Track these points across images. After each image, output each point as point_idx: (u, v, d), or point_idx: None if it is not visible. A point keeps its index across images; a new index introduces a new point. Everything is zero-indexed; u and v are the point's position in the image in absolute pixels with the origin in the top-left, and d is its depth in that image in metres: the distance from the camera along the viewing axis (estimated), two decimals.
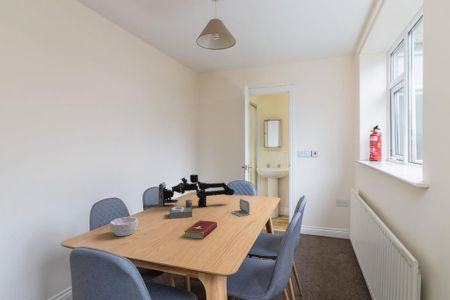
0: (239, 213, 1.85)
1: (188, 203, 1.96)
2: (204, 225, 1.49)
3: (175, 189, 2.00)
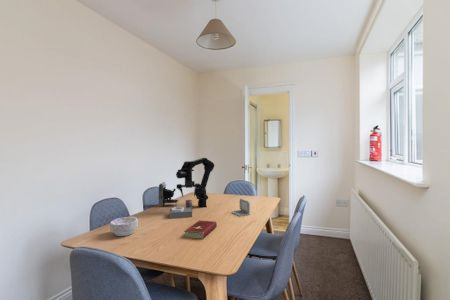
0: (239, 213, 1.85)
1: (188, 203, 1.96)
2: (204, 225, 1.49)
3: (195, 192, 1.99)
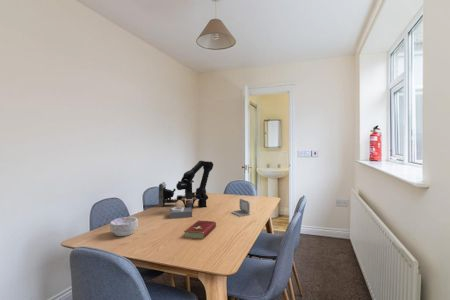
0: (239, 213, 1.85)
1: (188, 203, 1.96)
2: (204, 225, 1.49)
3: (193, 203, 1.99)
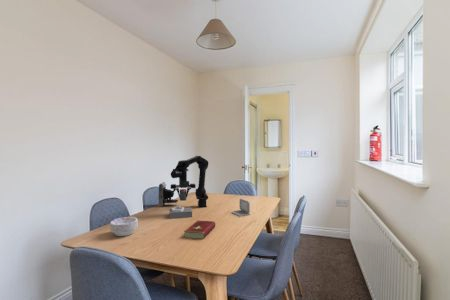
0: (239, 213, 1.85)
1: (182, 192, 1.89)
2: (203, 225, 1.49)
3: None
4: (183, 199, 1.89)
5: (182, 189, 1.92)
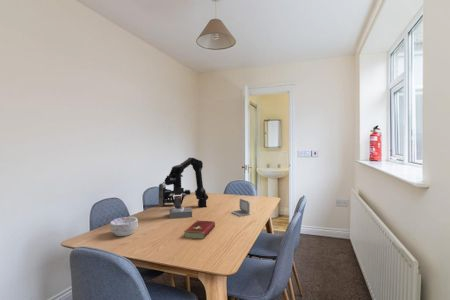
0: (239, 213, 1.85)
1: (177, 199, 1.82)
2: (203, 225, 1.49)
3: (182, 200, 1.84)
4: (178, 206, 1.82)
5: (177, 196, 1.84)
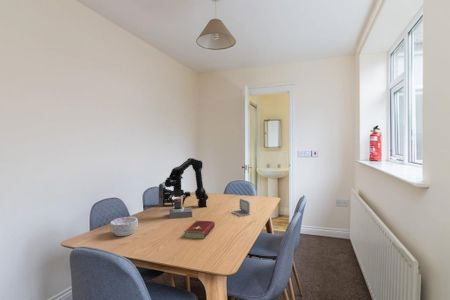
0: (239, 213, 1.85)
1: (177, 202, 1.82)
2: (203, 225, 1.49)
3: None
4: None
5: (176, 199, 1.84)
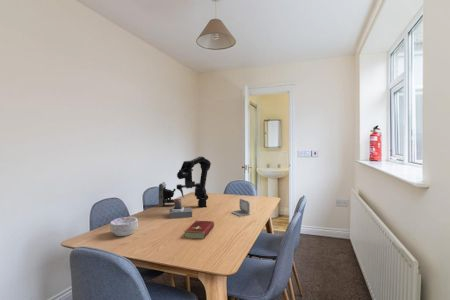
0: (239, 213, 1.85)
1: (177, 202, 1.82)
2: (203, 225, 1.49)
3: (196, 192, 1.96)
4: None
5: (176, 199, 1.84)
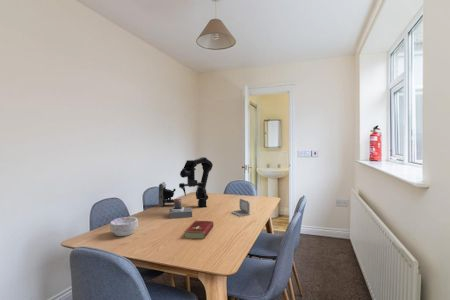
0: (239, 213, 1.85)
1: (177, 202, 1.82)
2: (202, 225, 1.49)
3: (198, 191, 1.98)
4: None
5: (176, 199, 1.84)
